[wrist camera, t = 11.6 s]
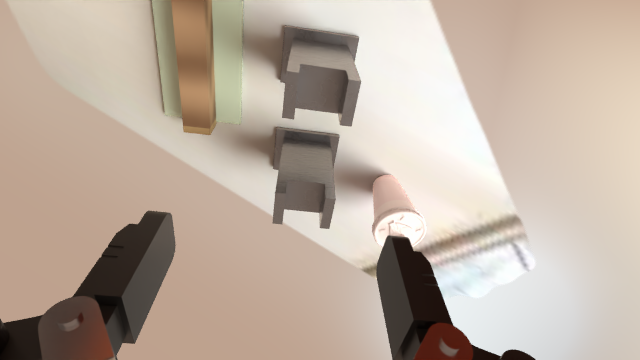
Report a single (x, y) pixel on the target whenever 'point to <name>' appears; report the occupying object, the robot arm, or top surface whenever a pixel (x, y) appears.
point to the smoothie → (395, 212)
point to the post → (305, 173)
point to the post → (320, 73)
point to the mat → (225, 58)
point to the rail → (195, 64)
